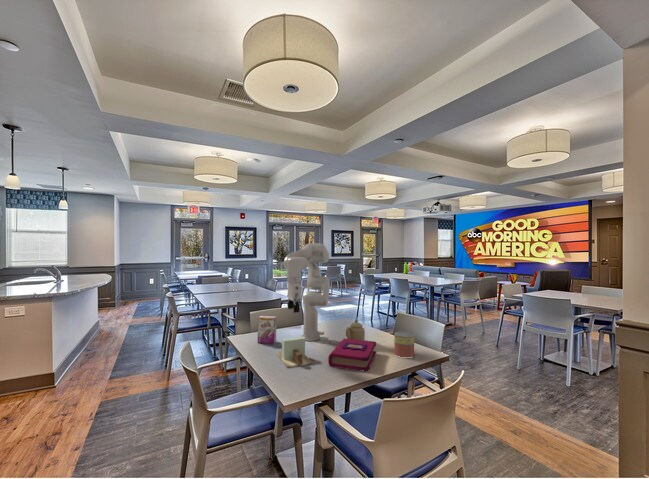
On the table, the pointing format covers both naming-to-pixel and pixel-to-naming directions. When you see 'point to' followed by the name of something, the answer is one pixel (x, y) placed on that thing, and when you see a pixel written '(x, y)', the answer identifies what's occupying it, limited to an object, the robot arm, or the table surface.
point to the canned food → (404, 344)
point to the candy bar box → (267, 329)
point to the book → (353, 354)
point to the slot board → (295, 359)
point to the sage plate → (292, 347)
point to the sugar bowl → (355, 331)
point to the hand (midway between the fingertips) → (293, 310)
